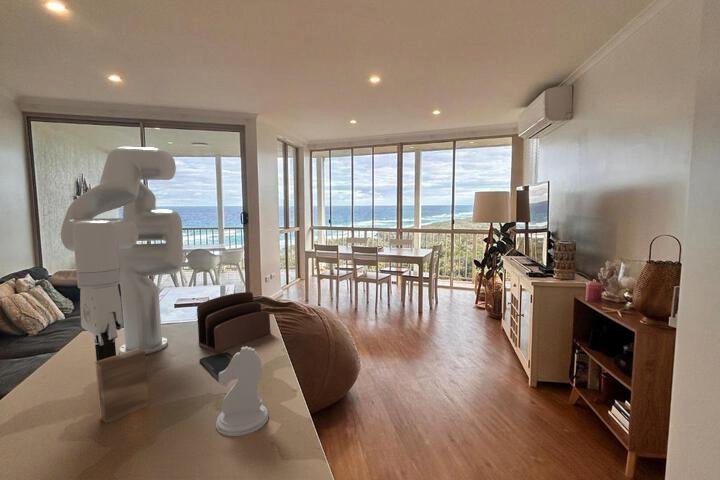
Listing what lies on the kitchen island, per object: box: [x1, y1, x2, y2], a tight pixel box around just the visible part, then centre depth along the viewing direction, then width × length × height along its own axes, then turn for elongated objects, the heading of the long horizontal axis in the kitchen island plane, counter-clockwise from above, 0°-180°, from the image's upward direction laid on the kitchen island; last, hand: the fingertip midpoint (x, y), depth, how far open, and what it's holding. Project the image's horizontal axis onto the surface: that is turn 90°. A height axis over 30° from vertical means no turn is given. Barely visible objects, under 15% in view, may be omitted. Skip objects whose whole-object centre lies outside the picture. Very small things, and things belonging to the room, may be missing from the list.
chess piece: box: [215, 345, 269, 437], centre depth 70 cm, size 10×10×15 cm
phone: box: [199, 351, 234, 381], centre depth 95 cm, size 8×1×15 cm
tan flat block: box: [94, 348, 150, 424], centre depth 74 cm, size 3×8×12 cm, turn 144°
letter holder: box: [196, 291, 272, 354], centre depth 114 cm, size 10×20×14 cm, turn 142°
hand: (106, 360), depth 78 cm, fingers closed
